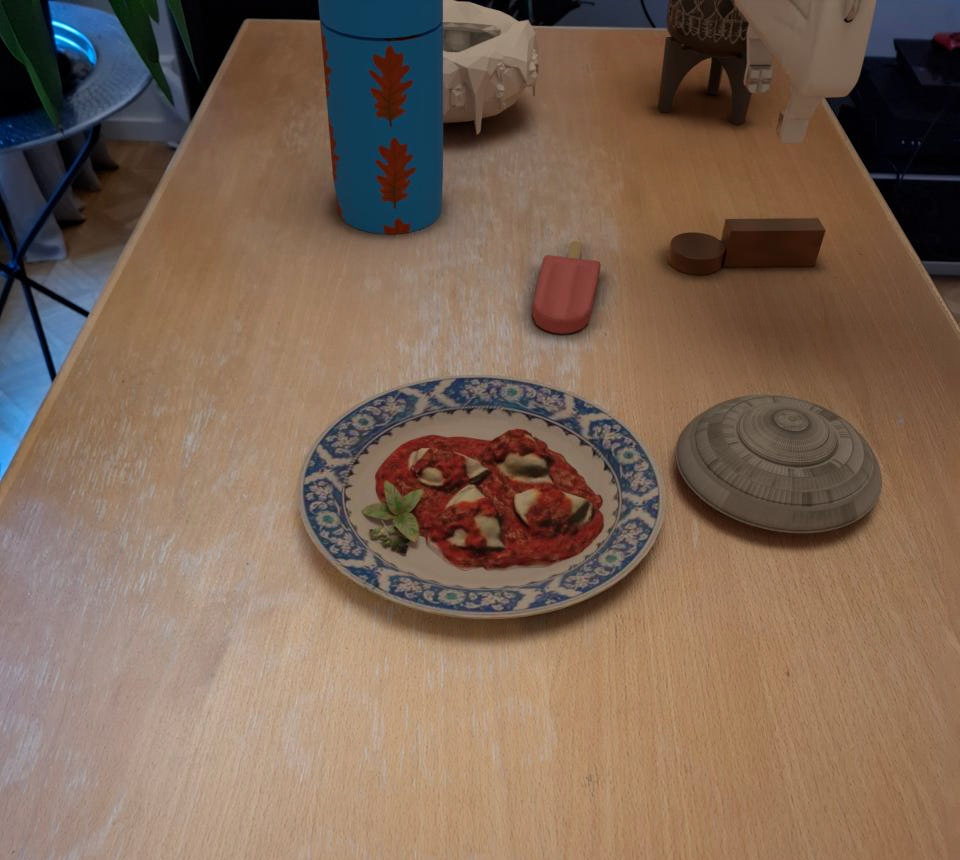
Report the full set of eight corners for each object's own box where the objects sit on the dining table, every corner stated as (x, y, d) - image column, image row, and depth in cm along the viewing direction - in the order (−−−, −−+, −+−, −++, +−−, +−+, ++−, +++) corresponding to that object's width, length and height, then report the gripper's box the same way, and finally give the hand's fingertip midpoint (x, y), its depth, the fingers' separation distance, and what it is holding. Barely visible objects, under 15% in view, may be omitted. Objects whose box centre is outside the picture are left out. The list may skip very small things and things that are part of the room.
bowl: (321, 115, 115) (312, 17, 107) (440, 67, 125) (439, -25, 118) (456, 171, 106) (457, 69, 99) (571, 115, 117) (580, 19, 109)
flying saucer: (809, 404, 80) (829, 344, 76) (916, 525, 71) (945, 465, 67) (640, 435, 77) (651, 375, 73) (728, 566, 68) (747, 505, 64)
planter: (663, 80, 124) (690, -91, 111) (766, 97, 122) (806, -76, 108) (639, 119, 116) (665, -60, 103) (748, 138, 114) (789, -43, 100)
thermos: (344, 239, 96) (319, -70, 77) (328, 189, 103) (302, -106, 84) (453, 229, 98) (456, -75, 79) (431, 181, 105) (429, -110, 86)
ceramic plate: (600, 382, 82) (605, 350, 79) (714, 608, 65) (724, 577, 63) (285, 416, 77) (280, 383, 75) (322, 666, 61) (317, 635, 59)
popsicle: (605, 238, 94) (589, 322, 85) (603, 253, 95) (587, 338, 86) (550, 231, 95) (527, 314, 85) (548, 247, 96) (526, 330, 86)
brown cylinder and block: (803, 246, 98) (814, 210, 95) (819, 273, 94) (830, 237, 91) (662, 248, 97) (669, 211, 94) (673, 275, 93) (680, 238, 90)
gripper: (924, -58, 60) (854, 173, 70) (821, -141, 73) (775, 64, 84) (823, -58, 59) (768, 174, 70) (737, -141, 73) (702, 65, 83)
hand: (771, 113), depth 77 cm, fingers open, 8 cm apart
